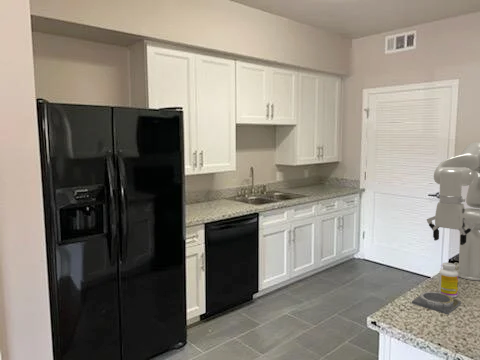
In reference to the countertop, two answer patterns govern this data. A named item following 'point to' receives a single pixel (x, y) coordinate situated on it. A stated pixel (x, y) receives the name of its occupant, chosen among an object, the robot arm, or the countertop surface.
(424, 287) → the countertop surface
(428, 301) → the ring plate
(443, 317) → the countertop surface
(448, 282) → the supplement bottle
